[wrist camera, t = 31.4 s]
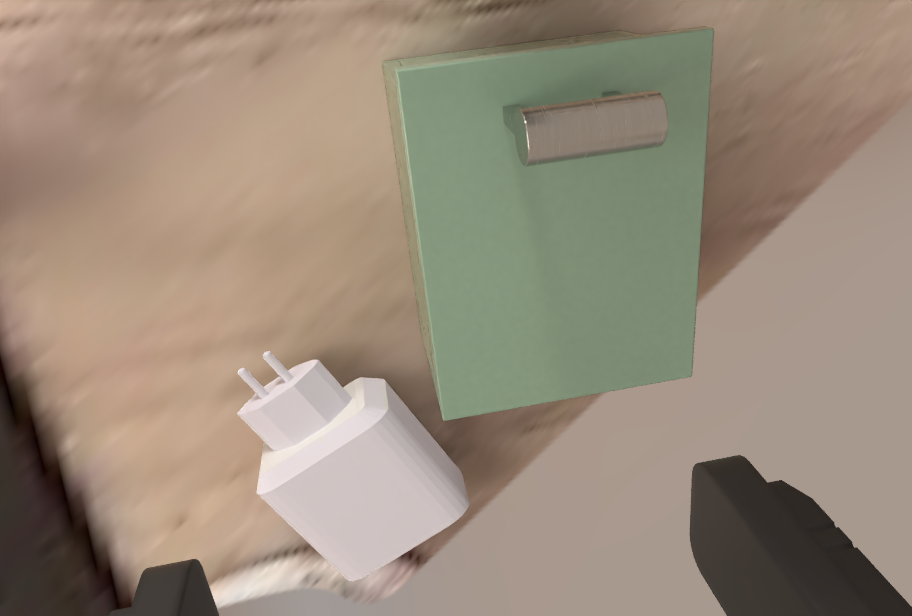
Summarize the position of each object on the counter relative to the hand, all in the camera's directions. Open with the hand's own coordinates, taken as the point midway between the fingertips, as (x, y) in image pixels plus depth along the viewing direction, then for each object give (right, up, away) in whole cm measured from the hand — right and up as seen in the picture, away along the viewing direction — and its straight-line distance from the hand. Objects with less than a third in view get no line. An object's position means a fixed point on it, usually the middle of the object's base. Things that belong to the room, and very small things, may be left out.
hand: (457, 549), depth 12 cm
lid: (+5, +7, +21) cm, 22 cm away
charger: (-8, -3, +34) cm, 35 cm away
